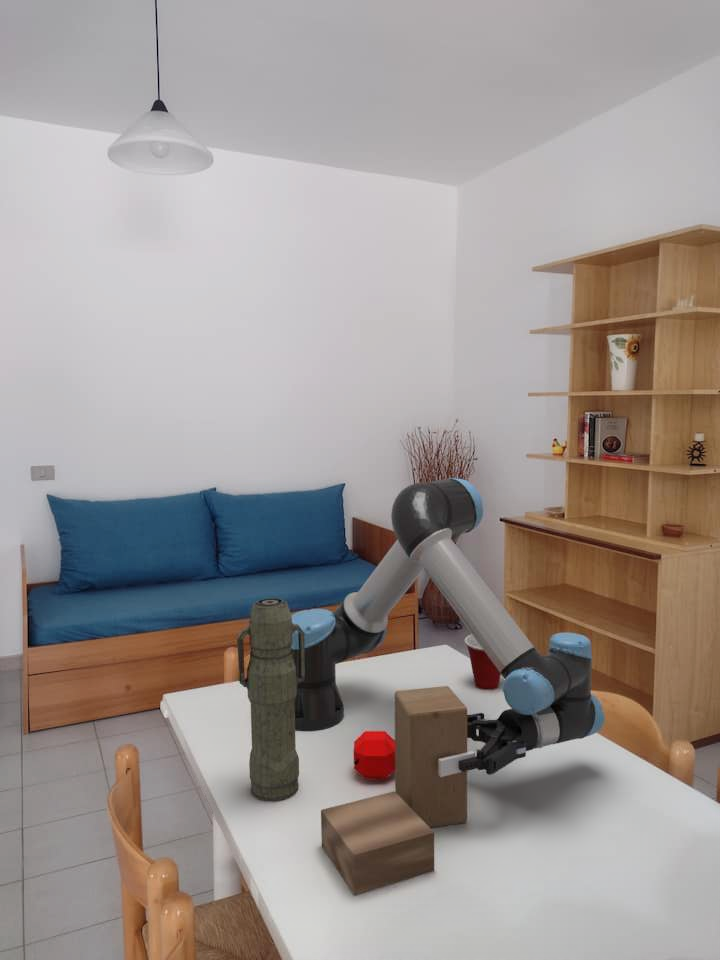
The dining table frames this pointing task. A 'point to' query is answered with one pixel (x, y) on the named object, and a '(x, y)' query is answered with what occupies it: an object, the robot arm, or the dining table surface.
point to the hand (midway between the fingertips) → (421, 752)
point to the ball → (374, 755)
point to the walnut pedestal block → (377, 842)
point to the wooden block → (430, 753)
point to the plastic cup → (482, 666)
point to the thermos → (272, 698)
